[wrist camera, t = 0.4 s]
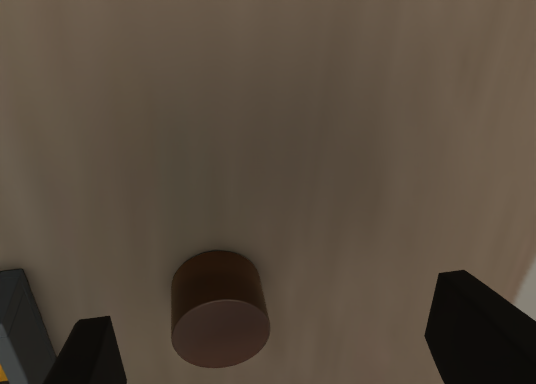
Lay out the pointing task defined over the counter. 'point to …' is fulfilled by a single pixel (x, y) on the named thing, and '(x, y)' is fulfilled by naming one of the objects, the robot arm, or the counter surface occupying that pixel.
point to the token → (218, 310)
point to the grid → (22, 333)
